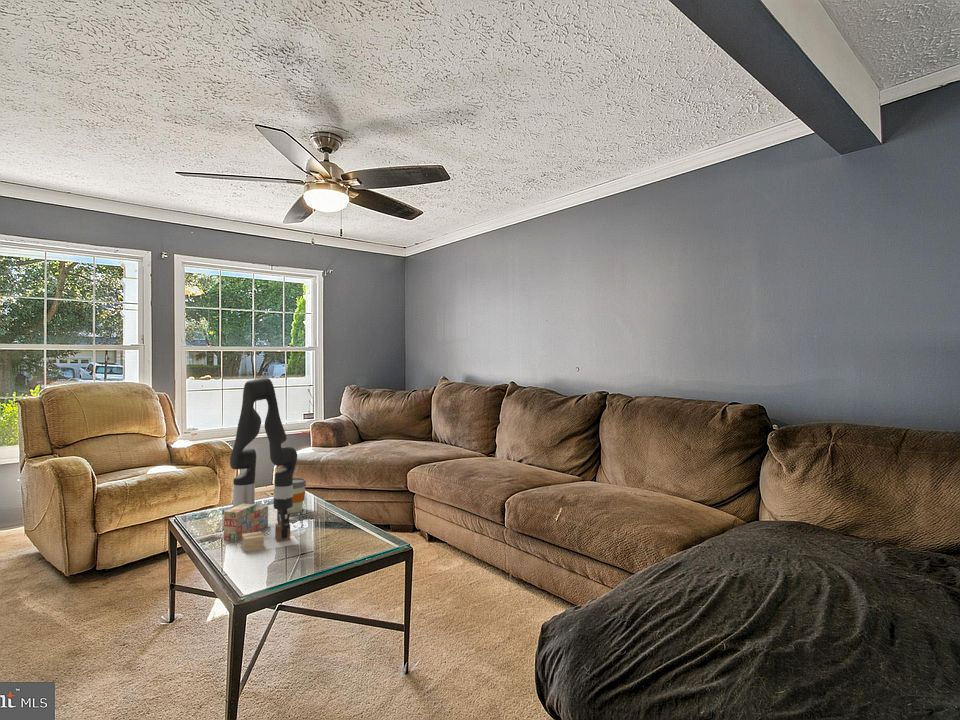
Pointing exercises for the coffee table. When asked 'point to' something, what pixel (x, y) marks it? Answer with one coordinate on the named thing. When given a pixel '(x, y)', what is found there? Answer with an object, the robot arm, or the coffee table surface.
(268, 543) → the white board
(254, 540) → the oak block
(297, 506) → the reusable coffee cup
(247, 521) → the stack of blocks
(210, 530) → the coffee table surface
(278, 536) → the walnut block
